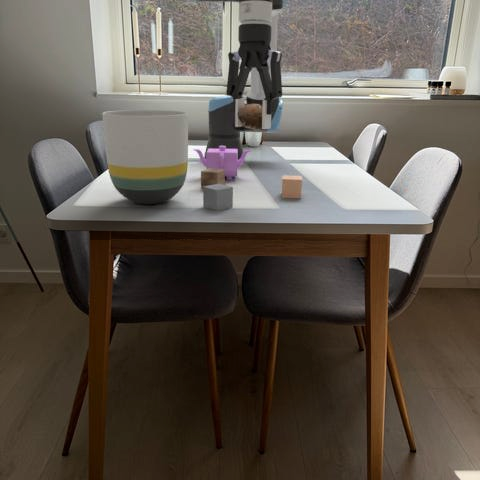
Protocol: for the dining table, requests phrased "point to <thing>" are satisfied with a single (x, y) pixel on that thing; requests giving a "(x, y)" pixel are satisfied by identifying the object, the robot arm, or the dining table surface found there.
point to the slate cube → (217, 197)
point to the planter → (146, 153)
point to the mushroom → (251, 116)
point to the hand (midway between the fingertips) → (252, 127)
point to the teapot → (223, 160)
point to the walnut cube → (212, 177)
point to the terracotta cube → (291, 186)
